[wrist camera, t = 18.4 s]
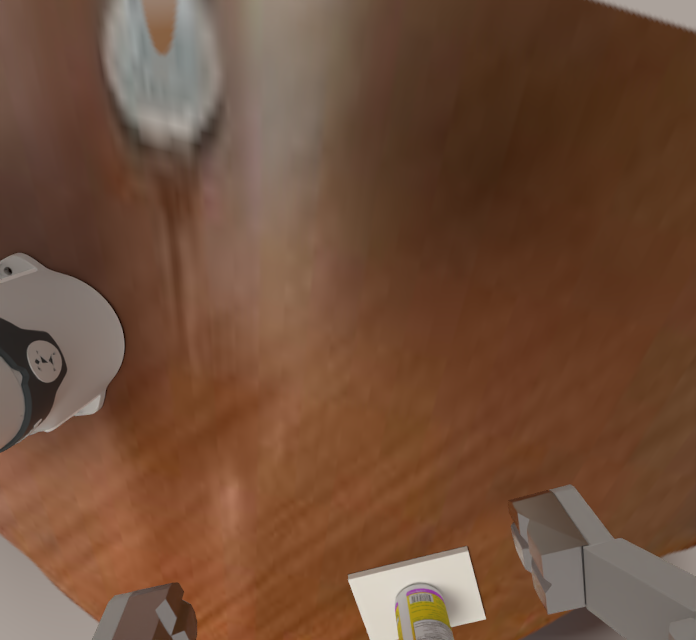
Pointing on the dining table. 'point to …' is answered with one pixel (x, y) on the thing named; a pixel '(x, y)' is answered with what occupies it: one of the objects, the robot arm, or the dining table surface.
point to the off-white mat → (434, 570)
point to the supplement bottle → (422, 614)
